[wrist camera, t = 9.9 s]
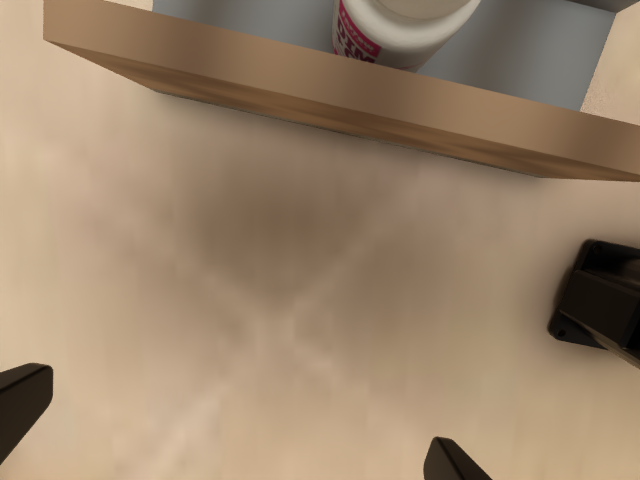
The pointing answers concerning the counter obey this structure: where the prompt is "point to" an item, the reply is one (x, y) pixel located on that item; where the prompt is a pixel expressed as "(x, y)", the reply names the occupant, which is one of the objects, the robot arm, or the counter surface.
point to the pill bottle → (396, 29)
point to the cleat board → (379, 76)
